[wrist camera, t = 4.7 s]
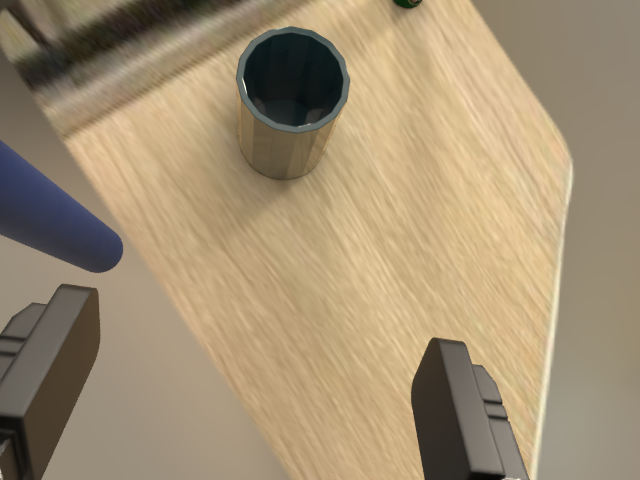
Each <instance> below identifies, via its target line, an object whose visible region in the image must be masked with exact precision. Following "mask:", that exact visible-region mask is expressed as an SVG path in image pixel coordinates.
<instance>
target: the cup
mask: <svg viewBox="0 0 640 480" xmlns="http://www.w3.org/2000/svg"><path fill="white" fill-rule="evenodd" d="M349 84H350V77H349V74H348V70H347V67H346V63H345V60H344V58H343V57H342V56H341V54H340V53H339V52H338V50H337V49H336V48H335V46H334V45H333V44H332V43H331V42H330V41H328V40H327V39H325V38H324V37H322V36H320V35H319V34H317V33H316V32H314V31H312V30H307V29H302V28H297V27H291V26H290V27H284V28H278V29H271V30H269V31H267V32H265V33H264V34H262V35H260V36H259V37H257V38H255V39H254V40H252V41H251V42H250V44H249V45H248V47H247V48H246V50H245V51H244V52H243V54H242V55H241V57H240V59H239V64H238V70H237V75H236V93H237V125H238V139H239V145H240V149H241V152H242V154H243V156H244V158H245V159H246V161H247V162H248V163H249V165H250V166H251V167H252V168H253V169H255V170H256V171H257V172H259V173H260V174H262V175H264V176H267V177H269V178H273V179H279V180H289V179H294V178H298V177H300V176H303V175H305V174H306V173H308V172H309V171H311V170H312V169H313V168H314V167H315V166H316V165H317V163H318V162H319V161H320V159H321V157H322V155H323V153H324V152H325V150H326V147H327V145H328V143H329V140H330V138H331V136H332V134H333V131H334V129H335V127H336V124H337V122H338V120H339V118H340V115H341V113H342V111H343V109H344V106H345V104H346V102H347V99H348V92H349Z"/></svg>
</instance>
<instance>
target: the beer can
mask: <svg viewBox="0 0 640 480" xmlns="http://www.w3.org/2000/svg"><path fill="white" fill-rule="evenodd" d="M394 1H395V2H396V3H397V4H398V5H400V6H402V7H406V8H413V7H415V6H417V5H419V4H420V3H421V1H422V0H394Z"/></svg>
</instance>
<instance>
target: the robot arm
mask: <svg viewBox="0 0 640 480" xmlns="http://www.w3.org/2000/svg"><path fill="white" fill-rule="evenodd" d="M99 344H100V319H99V298H98V291H97V289H96V288H91V287H83V286H76V285H69V284H61V285H60V286H59V287H58V288H57V290H56V292H55V293H54V295H53V296H52V298H51V300H50V301H49V303H48V304H47V305H46V304H39V303H31V304H30V305H29V306H27V307H26V308H25V309H23V310H22V311H20V312H19V313H17V314H16V315H15V316H13V317H12V318H11V320H10V321H9V323H8V324H7V326H6V327H5V329H4V330H3V331H2V333H1V334H0V480H41V479H42V476H43V474H44V472H45V470H46V467H47V465H48V463H49V461H50V459H51V456H52V455H53V452H54V450H55V448H56V446H57V443H58V441H59V439H60V437H61V435H62V433H63V430H64V428H65V426H66V424H67V421H68V419H69V417H70V415H71V413H72V410H73V408H74V406H75V404H76V402H77V400H78V397H79V395H80V393H81V391H82V389H83V386H84V384H85V382H86V380H87V378H88V375H89V373H90V371H91V369H92V367H93V364H94V362H95V360H96V357H97V353H98V349H99ZM411 403H412V409H413V415H414V421H415V426H416V432H417V438H418V443H419V449H420V455H421V461H422V466H423V472H424V478H425V480H530V479H529V477H528V474H527V471H526V468H525V465H524V462H523V459H522V457H521V454H520V451H519V448H518V445H517V442H516V439H515V436H514V433H513V431H512V428H511V425H510V422H509V421H508V416H507V413H506V410H505V408H504V406H502V399H501V396H500V393H499V390H498V387H497V385H496V383H495V381H494V380H493V379H492V377H491V376H490V375H489V374H488V372H487V371H486V370H485V368H484V367H483V366H482V365H474V364H472V362H471V359H470V356H469V353H468V350H467V347H466V345H465V343H464V342H462V341H456V340H449V339H442V338H432V339H431V340H430V342H429V344H428V346H427V349H426V351H425V353H424V356H423V358H422V360H421V363H420V365H419V367H418V370H417V372H416V374H415V377H414V379H413V383H412V389H411Z"/></svg>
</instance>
